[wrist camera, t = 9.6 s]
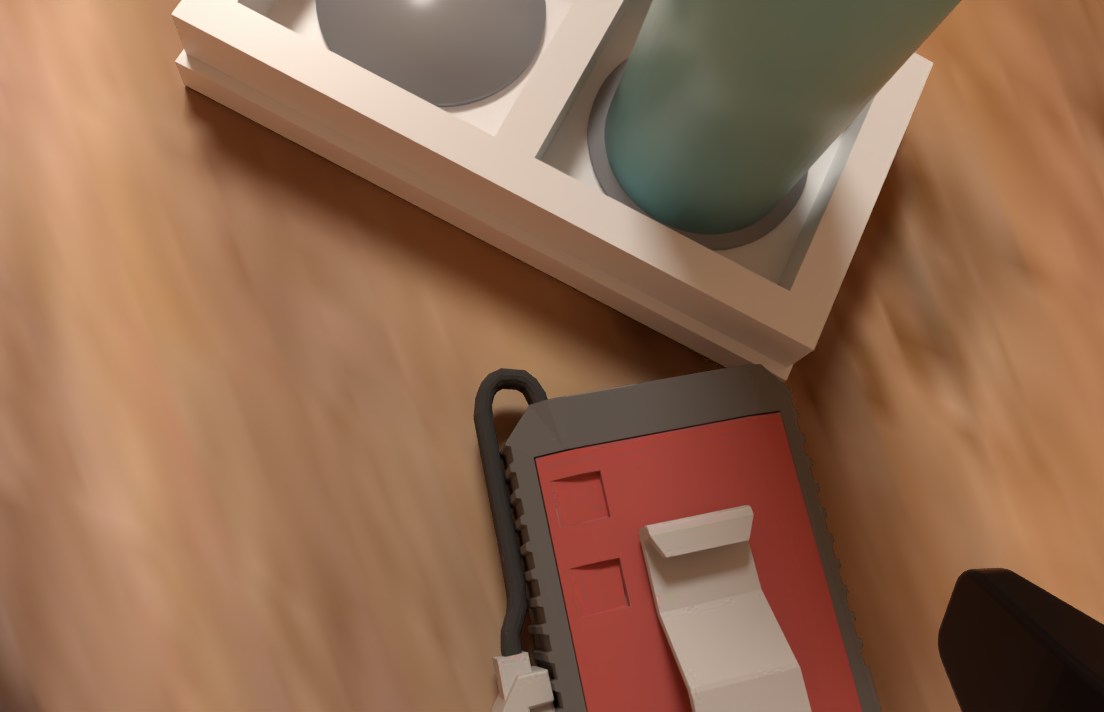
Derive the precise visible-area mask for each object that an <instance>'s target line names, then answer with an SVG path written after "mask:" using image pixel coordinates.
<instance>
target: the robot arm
mask: <svg viewBox="0 0 1104 712" xmlns="http://www.w3.org/2000/svg"><path fill="white" fill-rule="evenodd" d="M938 648H939V653H940V657H941V660H942V663H943V666H944V668H945V671H946V673H947V676H948V678H949V681H950V683H951V686H952V688H953V691H954V694H955V696H956V699H957V701H958V704H959V706H960V709H961V711H962V712H1104V625H1103V624H1102V623H1100V622H1098V621H1096V620H1095V619H1093V618H1091V617H1090V616H1088V615H1086V614H1084V613H1083V612H1081V611H1079V610H1078V609H1076V608H1074V607H1073V606H1071V605H1069V604H1067V603H1066V602H1064V601H1062V600H1061V599H1059V598H1057V597H1055V596H1054V595H1052V594H1050V593H1049V592H1047V591H1045V590H1043V589H1042V588H1040V587H1038V586H1037V585H1035V584H1033V583H1032V582H1030V581H1028V580H1026V579H1025V578H1023V577H1021V576H1020V575H1018V574H1016V573H1014V572H1013V571H1011V570H1008V569H1004V568H987V569H970V570H967V571H964V572H963V573H962V574H961V575H960V576H959V577H958V579H957V581H956V584H955V587H954V590H953V592H952V595H951V598H950V601H949V604H948V607H947V609H946V612H945V615H944V618H943V621H942V623H941V626H940V629H939V634H938Z"/></svg>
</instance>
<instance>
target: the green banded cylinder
mask: <svg viewBox="0 0 1104 712" xmlns="http://www.w3.org/2000/svg"><path fill="white" fill-rule="evenodd" d="M960 1H961V0H653V1H652V3H651V5H650V8H649V10H648V13H647V15H646V18H645V20H644V23H643V25H642V28H641V30H640V32H639V35H638V37H637V40H636V42H635V45H634V47H633V50H632V52H631V55H630V57H629V59H628V62H627V64H626V67H625V69H624V72H623V74H622V77H621V79H620V82H619V84H618V86H617V89H616V91H615V94H614V96H613V99H612V101H611V104H610V106H609V109H608V112H607V116H606V121H605V127H604V141H605V149H606V154H607V158H608V161H609V164H610V167H611V169H612V171H613V174H614V176H615V177H616V179H617V181H618V183H619V184H620V186H621V187H622V189H623V190H624V191H625V193H626V194H627V195H628V196H629V197H630V198H631V199H632V200H633V202H634V203H635V204H636V205H637V206H639V207H640V208H641V209H642V210H644V211H645V212H646V213H647V214H649V215H650V216H652V217H654V218H655V219H657V220H658V221H660V222H662V223H664V224H666V225H669V226H671V227H674V228H677V229H679V230H682V231H687V232H691V233H698V234H723V233H730V232H734V231H737V230H741V229H744V228H746V227H748V226H750V225H752V224H755V223H756V222H758V221H759V220H761V219H762V218H764V217H765V216H766V215H767V214H768V213H769V212H771V211H772V210H773V209H774V207H775V206H776V205H777V204H778V203H779V202H780V201H781V200H782V199H783V198H784V196H785V195H786V194H787V193H788V192H789V191H790V190H791V189H792V188H793V186H794V185H795V184H796V183H797V182H798V181H799V180H800V179H801V178H802V176H803V175H804V174H805V173H806V172H807V171H808V170H809V169H810V168H811V166H812V165H813V164H814V163H815V162H816V161H817V160H818V159H819V158H820V156H821V155H822V154H823V153H824V152H825V151H826V150H827V149H828V148H829V147H830V145H831V144H832V143H833V142H834V141H835V140H836V139H837V138H838V137H839V135H840V134H841V133H842V132H843V131H844V130H845V129H846V128H847V127H848V125H849V124H850V123H851V122H852V121H853V120H854V119H855V118H856V117H857V115H858V114H859V113H860V112H861V111H862V110H863V109H864V108H865V107H866V105H867V104H868V103H869V102H870V101H871V100H872V99H873V98H874V97H875V96H876V94H877V93H878V92H879V91H880V90H881V89H882V88H883V87H884V86H885V84H886V83H887V82H888V81H889V80H890V79H891V78H892V77H893V76H894V74H895V73H896V72H897V71H898V70H899V69H900V68H901V67H902V66H903V64H904V63H905V62H906V61H907V60H908V59H909V58H910V57H911V56H912V54H913V53H914V52H915V51H916V50H917V49H918V48H919V47H920V46H921V44H922V43H923V42H924V41H925V40H926V39H927V38H928V37H929V36H930V35H931V33H932V32H933V31H934V30H935V29H936V28H937V27H938V26H939V25H940V23H941V22H942V21H943V20H944V19H945V18H946V17H947V16H948V15H949V13H950V12H951V11H952V10H953V9H954V8H955V7H956V6H957V5H958V3H959V2H960Z"/></svg>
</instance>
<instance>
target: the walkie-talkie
mask: <svg viewBox="0 0 1104 712" xmlns="http://www.w3.org/2000/svg"><path fill="white" fill-rule="evenodd" d="M501 389H513V390H518V391H519V392H521V393H523V395H524V397H525V399H526V401H527V402H528V404H529V406H528V408H527V409H526V411H525V413H524V414H523V416H522V417H521V419H520V421H519V422H518V424H517V425H516V427H515V429H514V430H513V432H512V433H511V435H510V437H509V438H508V440H507V441H506V443H505V445H504V446H503V448H502V450H501V452H500V453H499V448H498V443H497V438H496V433H495V428H494V423H493V414H492V403H493V398H494V396H495V394H496V392H498V391H499V390H501ZM792 393H793V391H792V390H791V389H790V388H789V387H787V386H786V385H785V384H784V383H783V382H782V381H780V380H779V379H778V378H777V377H776V376H774V375H773V374H772V373H771V372H770V371H769V370H767V369H766V368H765V367H764V366H763V365H761V364H747V365H740V366H734V367H728V368H723V369H717V370H711V371H706V372H700V373H694V374H689V375H683V376H677V377H672V378H666V379H660V380H654V381H649V382H643V383H637V384H632V385H626V386H620V387H615V388H609V389H603V390H598V391H592V392H586V393H581V394H575V395H569V396H564V397H558V398H553V399H547V396H546V392H545V391H544V390H543V388H542V387H541V385H540V384H539V382H538V381H537V379H536V378H534V377H533V376H532V375H530V374H529V373H528V372H527V371H525V370H515V369H503V368H501V369H499V370H497V371H494V372H492V373H490V374H489V375H488V376H487V377H486V378H485V379H484V380H483V381H482V382H481V385H480V387H479V390H478V392H477V395H476V398H475V408H474V423H475V428H476V433H477V438H478V443H479V448H480V454H481V459H482V464H483V469H484V474H485V479H486V484H487V489H488V494H489V500H490V505H491V510H492V515H493V520H494V525H495V530H496V535H497V540H498V546H499V551H500V557H501V563H502V569H503V575H504V581H505V587H506V594H507V610H506V615H505V619H504V622H503V625H502V629H501V653H502V656H497V657H493V658H492V659H493V664H494V669H495V675H496V680H497V685H498V691H499V694H498V696H497V698H496V700H495V703H494V705H493V707H492V709H491V712H882V711H881V708H880V704H879V700H878V697H877V693H876V690H875V686H874V682H873V679H872V675H871V672H870V668H869V666H868V665H865V663H864V660H863V656H862V652H861V648H862V647H863V643H862V640H861V639H860V638H857V635H856V631H855V628H854V624H853V622H854V621H855V620H856V618H855V615H854V612H852V611H850V609H849V606H848V602H847V598H846V595H847V594H848V590H847V586H846V585H843V584H842V581H841V577H840V573H839V570H838V569H839V568H840V567H841V564H840V561H839V559H835V555H834V552H833V548H832V544H831V543H832V542H833V541H834V539H833V536H832V534H831V533H828V530H827V526H826V523H825V519H824V518H825V517H826V516H827V514H826V511H825V508H822V507H821V505H820V501H819V498H818V494H817V492H819V491H820V489H819V485H818V483H815V482H814V479H813V476H812V472H811V469H810V468H811V467H812V466H813V464H812V460H811V458H808V457H807V454H806V451H805V447H804V442H805V441H806V439H805V435H804V434H802V433H800V429H799V425H798V422H797V418H798V417H799V413H798V410H796V409H794V407H793V404H792V400H791V396H790V395H791V394H792ZM527 609H529V614H530V619H531V624H530V625H528V631H529V633H530V634H534V639H535V644H536V649H535V650H534V651H533V656H534V659H537V660H539V664H540V667H537V666H531V665H530V660H529V655H528V652H524V651H522V650H521V643H520V634H521V630H522V626H523V623H524V619H525V615H526V612H527Z"/></svg>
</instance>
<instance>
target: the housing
mask: <svg viewBox="0 0 1104 712" xmlns="http://www.w3.org/2000/svg"><path fill="white" fill-rule="evenodd" d="M652 1H653V0H182V1H181V2H180V3H179V5H178V6H177V7H176V9H175V10H174V11H173V12H172V14H171V15H172V17H173V20H174V23H175V26H176V28H177V31H178V34H179V36H180V39H181V42H182V44H183V47H184V50H183V51H182V53H181V54H180V55H179V57H178V58H177V59H176V61H175V63H176V65H177V68H178V70H179V73H180V75H181V78H182V80H183V83H184V85H186V86H188V87H190V88H192V89H193V90H195V91H197V92H199V93H201V94H203V95H205V96H207V97H209V98H211V99H213V100H215V101H216V102H218V103H220V104H222V105H224V106H226V107H228V108H230V109H232V110H234V111H236V112H238V113H239V114H241V115H243V116H245V117H247V118H249V119H251V120H253V121H255V122H257V123H259V124H261V125H262V126H264V127H266V128H268V129H270V130H272V131H274V132H276V133H278V134H280V135H282V136H284V137H285V138H287V139H289V140H291V141H293V142H295V143H297V144H299V145H301V146H303V147H305V148H306V149H308V150H310V151H312V152H314V153H316V154H318V155H320V156H322V157H324V158H326V159H328V160H329V161H331V162H333V163H335V164H337V165H339V166H341V167H343V168H345V169H347V170H349V171H351V172H352V173H354V174H356V175H358V176H360V177H362V178H364V179H366V180H368V181H370V182H372V183H374V184H375V185H377V186H379V187H381V188H383V189H385V190H387V191H389V192H391V193H393V194H395V195H397V196H398V197H400V198H402V199H404V200H406V201H408V202H410V203H412V204H414V205H416V206H418V207H420V208H421V209H423V210H425V211H427V212H429V213H431V214H433V215H435V216H437V217H439V218H441V219H443V220H444V221H446V222H448V223H450V224H452V225H454V226H456V227H458V228H460V229H462V230H464V231H466V232H467V233H469V234H471V235H473V236H475V237H477V238H479V239H481V240H483V241H485V242H487V243H489V244H490V245H492V246H494V247H496V248H498V249H500V250H502V251H504V252H506V253H508V254H510V255H512V256H513V257H515V258H517V259H519V260H521V261H523V262H525V263H527V264H529V265H531V266H533V267H535V268H536V269H538V270H540V271H542V272H544V273H546V274H548V275H550V276H552V277H554V278H556V279H558V280H559V281H561V282H563V283H565V284H567V285H569V286H571V287H573V288H575V289H577V290H579V291H581V292H582V293H584V294H586V295H588V296H590V297H592V298H594V299H596V300H598V301H600V302H602V303H604V304H605V305H607V306H609V307H611V308H613V309H615V310H617V311H619V312H621V313H623V314H625V315H627V316H628V317H630V318H632V319H634V320H636V321H638V322H640V323H642V324H644V325H646V326H648V327H650V328H651V329H653V330H655V331H657V332H659V333H661V334H663V335H665V336H667V337H669V338H671V339H673V340H674V341H676V342H678V343H680V344H682V345H684V346H686V347H688V348H690V349H692V350H694V351H695V352H697V353H699V354H701V355H703V356H705V357H707V358H709V359H711V360H713V361H715V362H717V363H718V364H720V365H722V366H724V367H726V368H728V367H734V366H740V365H747V364H761V365H763V366H764V367H765V368H766V369H767V370H769V371H770V372H771V373H772V374H773V375H774V376H776V377H777V378H778V379H779V380H780V381H782V382H783V383H784V382H785V381H787V379H788V376H789V374H790V371H791V369H792V367H793V364H794V363H795V362H797V361H798V360H800V359H801V358H803V357H804V356H806V355H807V354H809V353H810V352H812V351H813V350H814V349H815V347H816V344H817V342H818V339H819V337H820V334H821V332H822V330H823V327H824V325H825V322H826V320H827V318H828V315H829V313H830V310H831V308H832V306H833V303H834V301H835V298H836V296H837V294H838V291H839V289H840V286H841V284H842V282H843V279H844V277H845V274H846V272H847V270H848V267H849V265H850V262H851V260H852V258H853V255H854V253H855V250H856V248H857V246H858V243H859V241H860V238H861V236H862V234H863V231H864V229H865V226H866V224H867V222H868V219H869V217H870V214H871V212H872V209H873V207H874V205H875V202H876V200H877V197H878V195H879V193H880V190H881V188H882V185H883V183H884V181H885V178H886V176H887V173H888V171H889V169H890V166H891V164H892V161H893V159H894V157H895V154H896V152H897V149H898V147H899V145H900V142H901V140H902V137H903V135H904V133H905V130H906V128H907V125H908V123H909V121H910V118H911V116H912V113H913V111H914V109H915V106H916V104H917V101H918V99H919V97H920V94H921V92H922V89H923V87H924V85H925V82H926V80H927V77H928V75H929V72H930V70H931V68H932V65H933V62H931V61H929V60H927V59H925V58H923V57H922V56H920V55H918V54H916V53H913V54H912V56H911V57H910V58H909V59H908V60H907V61H906V62H905V63H904V64H903V66H902V67H901V68H900V69H899V70H898V71H897V72H896V73H895V74H894V76H893V77H892V78H891V79H890V80H889V81H888V82H887V83H886V84H885V86H884V87H883V88H882V89H881V90H880V91H879V92H878V93H877V94H876V96H875V97H874V98H873V99H872V100H871V101H870V102H869V103H868V104H867V105H866V107H865V108H864V109H863V110H862V111H861V112H860V113H859V114H858V115H857V117H856V118H855V119H854V120H853V121H852V122H851V123H850V124H849V125H848V127H847V128H846V129H845V130H844V131H843V132H842V133H841V134H840V135H839V137H838V138H837V139H836V140H835V141H834V142H833V143H832V144H831V145H830V147H829V148H828V149H827V150H826V151H825V152H824V153H823V154H822V155H821V156H820V158H819V159H818V160H817V161H816V162H815V163H814V164H813V165H812V166H811V168H810V169H809V170H808V171H807V172H806V173H805V174H804V175H803V176H802V178H801V179H800V180H799V181H798V182H797V183H796V184H795V185H794V186H793V188H792V189H791V190H790V191H789V192H788V193H787V194H786V195H785V196H784V198H783V199H782V200H781V201H780V202H779V203H778V204H777V205H776V206H775V207H774V209H773V210H772V211H771V212H769V213H768V214H767V215H766V216H765V217H764V218H762V219H761V220H759V221H758V222H756V223H755V224H752V225H750V226H748V227H746V228H744V229H741V230H737V231H734V232H730V233H723V234H698V233H691V232H687V231H682V230H679V229H677V228H674V227H671V226H669V225H666V224H664V223H662V222H660V221H658V220H657V219H655V218H654V217H652V216H650V215H649V214H647V213H646V212H645V211H644V210H642V209H641V208H640V207H639V206H637V205H636V204H635V203H634V202H633V200H632V199H631V198H630V197H629V196H628V195H627V194H626V193H625V191H624V190H623V189H622V187H621V186H620V184H619V183H618V181H617V179H616V177H615V176H614V174H613V171H612V169H611V167H610V164H609V161H608V158H607V154H606V149H605V141H604V127H605V121H606V116H607V112H608V109H609V106H610V104H611V101H612V99H613V96H614V94H615V91H616V89H617V86H618V84H619V82H620V79H621V77H622V74H623V72H624V69H625V67H626V64H627V62H628V59H629V57H630V55H631V52H632V50H633V47H634V45H635V42H636V40H637V37H638V35H639V32H640V30H641V28H642V25H643V23H644V20H645V18H646V15H647V13H648V10H649V8H650V5H651V3H652Z"/></svg>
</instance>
